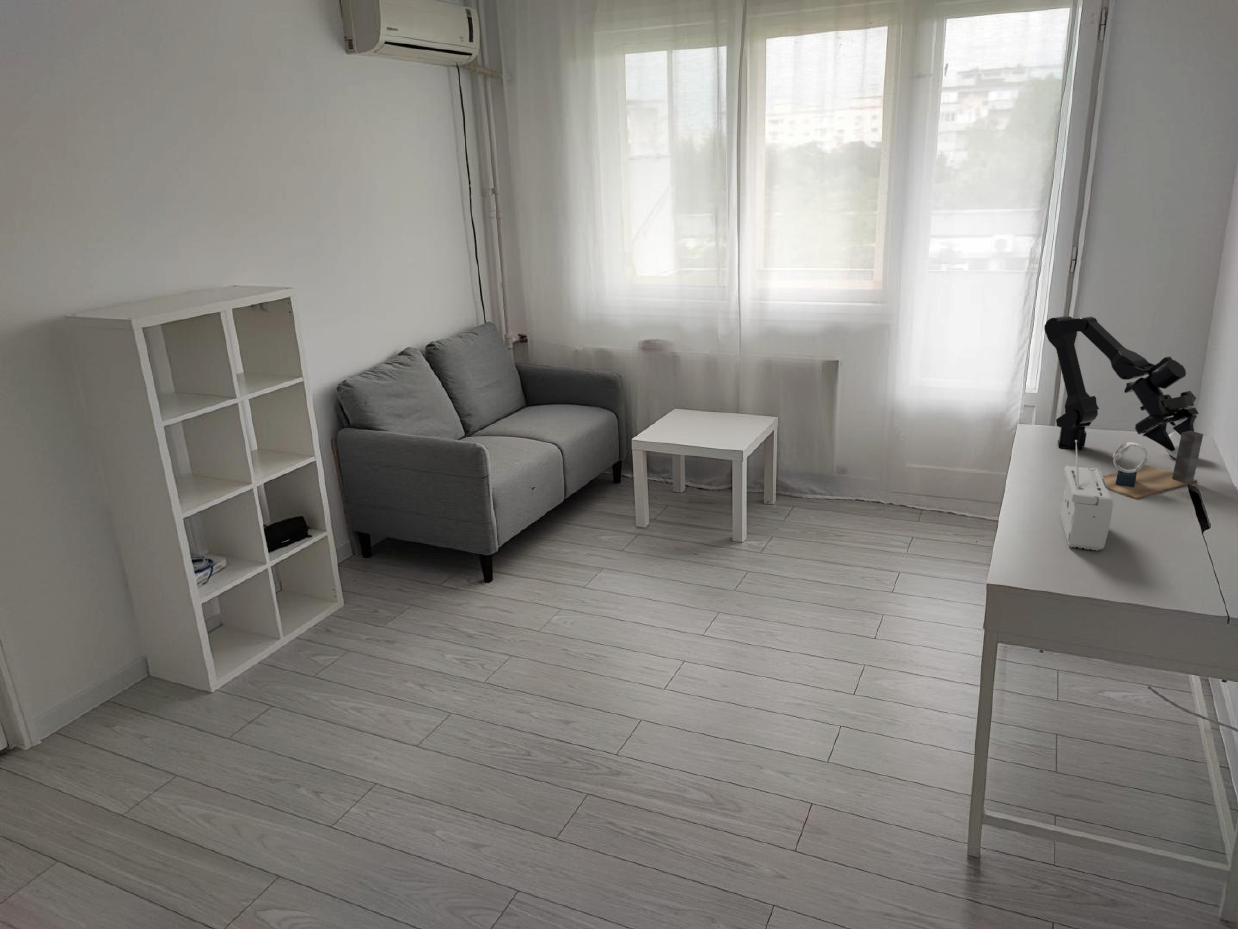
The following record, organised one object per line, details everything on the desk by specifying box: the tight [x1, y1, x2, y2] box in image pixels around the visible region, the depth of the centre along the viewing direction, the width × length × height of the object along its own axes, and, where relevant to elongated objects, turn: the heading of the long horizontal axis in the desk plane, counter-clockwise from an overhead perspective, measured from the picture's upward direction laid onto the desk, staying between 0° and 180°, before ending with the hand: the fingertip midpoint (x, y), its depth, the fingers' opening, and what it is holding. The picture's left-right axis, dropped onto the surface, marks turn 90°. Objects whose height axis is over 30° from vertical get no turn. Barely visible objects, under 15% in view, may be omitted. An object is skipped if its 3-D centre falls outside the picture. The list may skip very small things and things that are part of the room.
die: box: [1162, 430, 1181, 460], centre depth 254 cm, size 8×9×10 cm
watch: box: [1112, 441, 1148, 487], centre depth 234 cm, size 6×8×11 cm
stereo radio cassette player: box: [1060, 440, 1114, 551], centre depth 204 cm, size 21×8×20 cm, turn 160°
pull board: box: [1102, 431, 1204, 500], centre depth 235 cm, size 14×25×14 cm, turn 117°
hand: (1184, 447), depth 235 cm, fingers open, 9 cm apart
